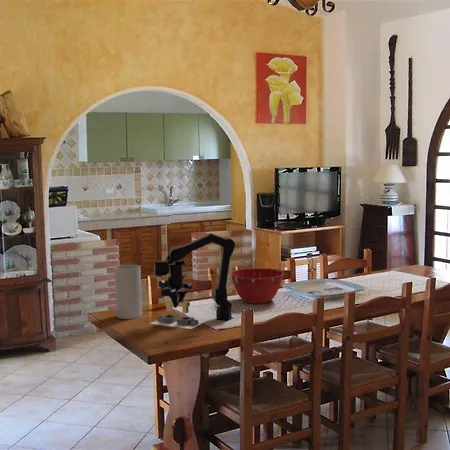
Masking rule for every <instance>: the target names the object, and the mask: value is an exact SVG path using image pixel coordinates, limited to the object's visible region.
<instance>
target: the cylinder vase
mask: <svg viewBox="0 0 450 450" xmlns="http://www.w3.org/2000/svg"><path fill="white" fill-rule="evenodd" d="M141 273H142V272H141V265H139V264H121V265H120V264H119V265H116V266H114V279H115V280H114V282H115V283H114V284H115V289H114V290H115V309H116V312H115V313H116V318H118V319H119V320H131V319H132V320H133V319H138V318H140V317H142V316H143V305H142V303H143V301H142V277H141V275H142V274H141Z"/></svg>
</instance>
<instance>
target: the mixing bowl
mask: <svg viewBox="0 0 450 450" xmlns="http://www.w3.org/2000/svg"><path fill="white" fill-rule="evenodd" d="M229 273H230V276H231V280H232V283H233V285H234V288H235V291H236V292H237V294H238V296H239V298H240V299H241V300H243V301H244V302H245V303H249V304H257V305H258V304H266V303H267V304H268V303H269V302H271V301H272V300H273V299H274V298H275V297H276V295H277V293H278V291H279V289H280V287H281V284H282V280H283V277H284V272H283V271H281V270H279V269H271V268H258V267H257V268H242V269H241V268H240V269H236V270H233V271H231V272H229Z"/></svg>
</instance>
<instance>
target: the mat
mask: <svg viewBox="0 0 450 450" xmlns="http://www.w3.org/2000/svg"><path fill="white" fill-rule="evenodd" d="M178 319H179V317H178ZM205 323H206V321H202V320H198V325H196V326H192V325H189V326H184V325H177V322H174V323H172V324H169V323H162V322H161V321H157V320H155V321H152V322H150V323H149V324H150V325H151V324H153V325H158V326H165V327H172V328H173V327H174V328H181V329H188V330H192V329H195V328H196V327H199V326H200V325H202V324H205Z"/></svg>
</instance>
